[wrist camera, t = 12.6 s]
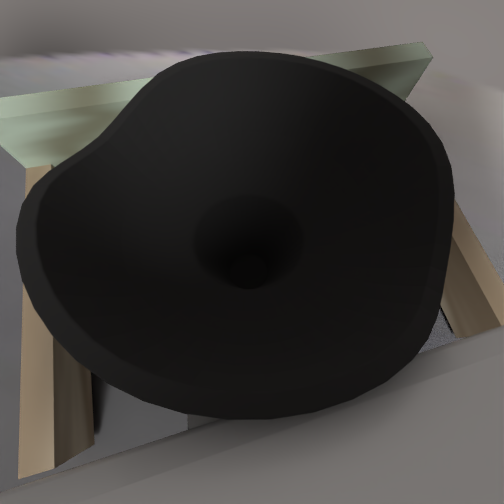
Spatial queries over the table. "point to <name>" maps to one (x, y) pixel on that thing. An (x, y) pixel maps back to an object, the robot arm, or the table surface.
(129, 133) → the pen holder
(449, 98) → the table surface
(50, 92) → the corral
